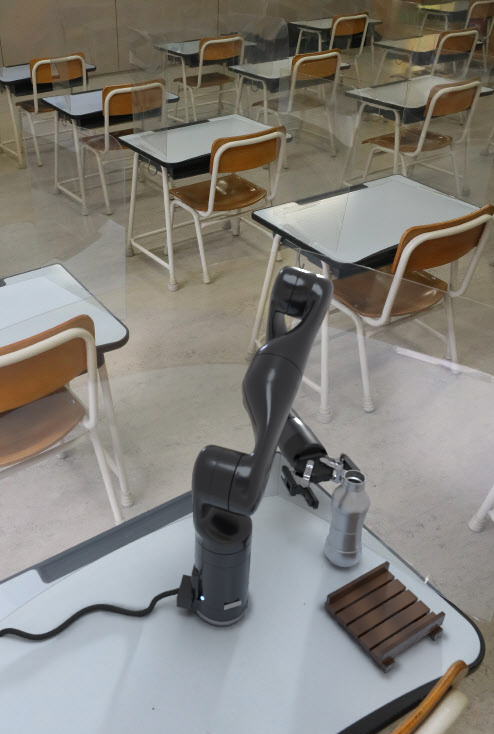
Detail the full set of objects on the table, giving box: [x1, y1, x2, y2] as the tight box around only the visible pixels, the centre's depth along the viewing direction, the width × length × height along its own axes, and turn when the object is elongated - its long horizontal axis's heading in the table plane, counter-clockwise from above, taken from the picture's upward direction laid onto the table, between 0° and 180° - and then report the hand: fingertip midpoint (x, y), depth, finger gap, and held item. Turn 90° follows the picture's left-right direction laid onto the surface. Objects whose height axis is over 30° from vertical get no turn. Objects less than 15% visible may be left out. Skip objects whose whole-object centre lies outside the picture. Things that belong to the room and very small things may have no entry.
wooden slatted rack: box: [323, 560, 446, 674], centre depth 114 cm, size 14×14×4 cm
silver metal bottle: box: [324, 470, 371, 568], centre depth 122 cm, size 6×7×20 cm
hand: (338, 500), depth 125 cm, fingers open, 8 cm apart
